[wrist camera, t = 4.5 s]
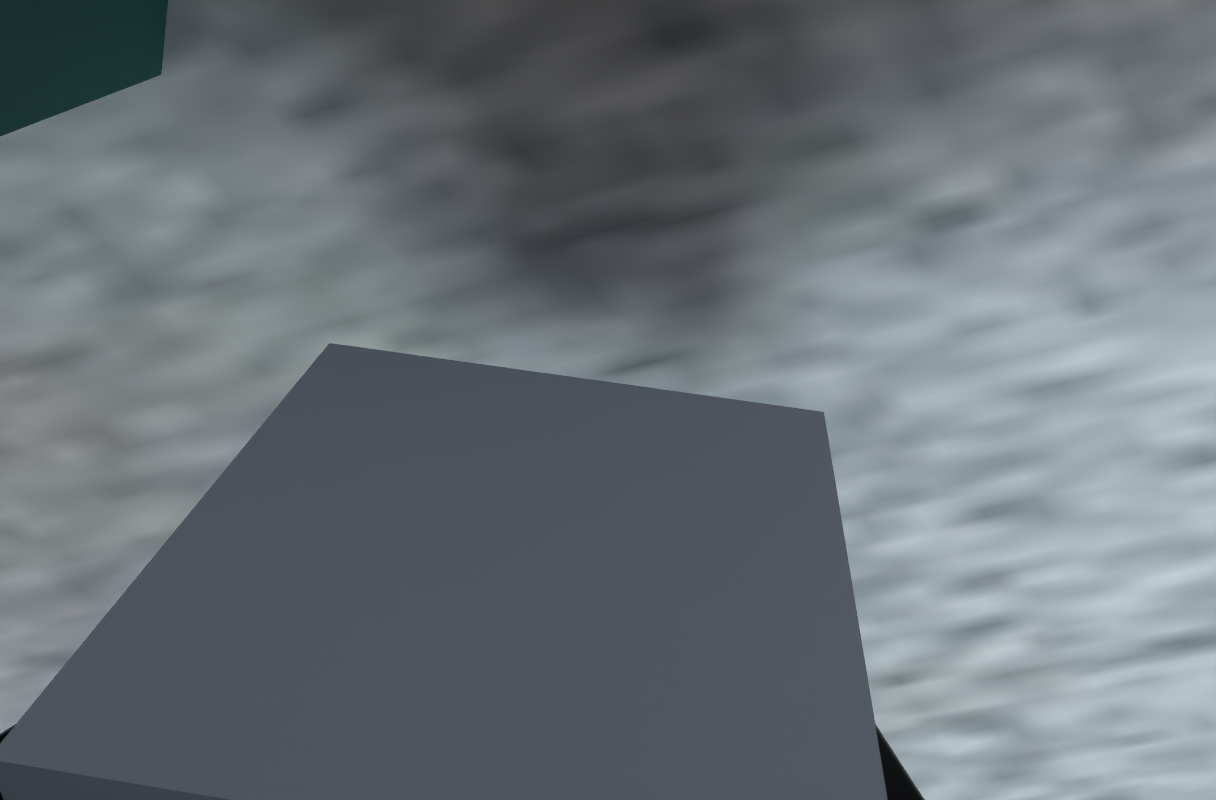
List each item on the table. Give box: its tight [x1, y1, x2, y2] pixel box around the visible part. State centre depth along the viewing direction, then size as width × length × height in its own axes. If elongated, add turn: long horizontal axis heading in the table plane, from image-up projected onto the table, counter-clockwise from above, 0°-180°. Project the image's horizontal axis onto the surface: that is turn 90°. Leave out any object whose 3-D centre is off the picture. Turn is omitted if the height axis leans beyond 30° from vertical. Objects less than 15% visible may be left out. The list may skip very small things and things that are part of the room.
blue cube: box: [0, 343, 888, 800], centre depth 8 cm, size 5×5×5 cm
